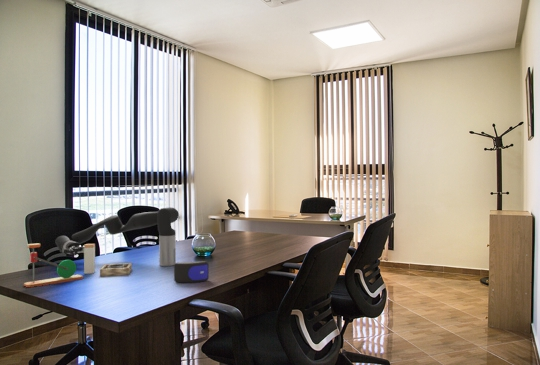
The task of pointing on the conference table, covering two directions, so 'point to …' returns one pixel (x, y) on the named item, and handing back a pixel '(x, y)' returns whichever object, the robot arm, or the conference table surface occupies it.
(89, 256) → the white orange-topped block
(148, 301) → the conference table surface
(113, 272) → the box
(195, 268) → the portable speaker
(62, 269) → the crank mechanism
